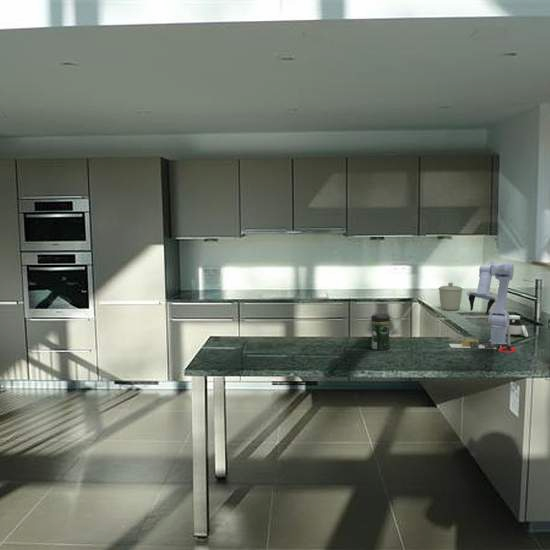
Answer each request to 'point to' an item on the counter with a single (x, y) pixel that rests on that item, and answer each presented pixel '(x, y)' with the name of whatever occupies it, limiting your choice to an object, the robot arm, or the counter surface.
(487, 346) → the chain end
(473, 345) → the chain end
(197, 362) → the counter surface
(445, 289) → the canister
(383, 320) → the coffee jar
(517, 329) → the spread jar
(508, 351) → the tow hook
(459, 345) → the mat
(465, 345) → the link
